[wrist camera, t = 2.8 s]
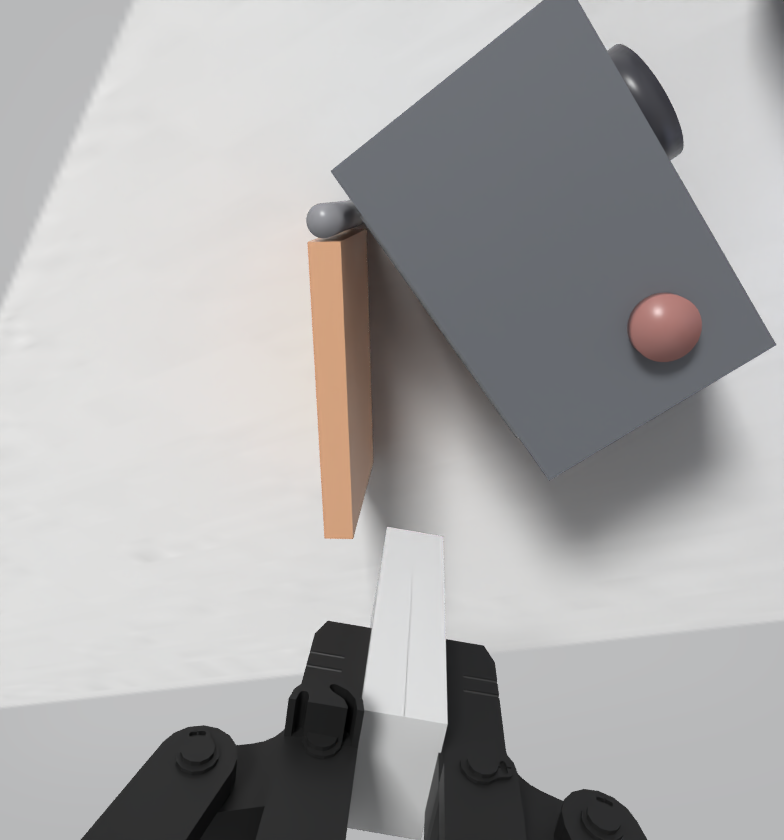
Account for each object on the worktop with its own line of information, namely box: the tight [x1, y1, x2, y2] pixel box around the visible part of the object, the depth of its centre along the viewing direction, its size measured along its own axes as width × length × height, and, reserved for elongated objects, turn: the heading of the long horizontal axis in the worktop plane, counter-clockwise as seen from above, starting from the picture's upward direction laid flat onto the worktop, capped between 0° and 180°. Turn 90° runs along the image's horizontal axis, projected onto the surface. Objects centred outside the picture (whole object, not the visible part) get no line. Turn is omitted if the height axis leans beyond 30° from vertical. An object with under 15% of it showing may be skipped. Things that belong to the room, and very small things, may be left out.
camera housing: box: [331, 0, 776, 481], centre depth 23 cm, size 12×9×8 cm
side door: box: [306, 200, 373, 539], centre depth 25 cm, size 11×1×7 cm, turn 1°
